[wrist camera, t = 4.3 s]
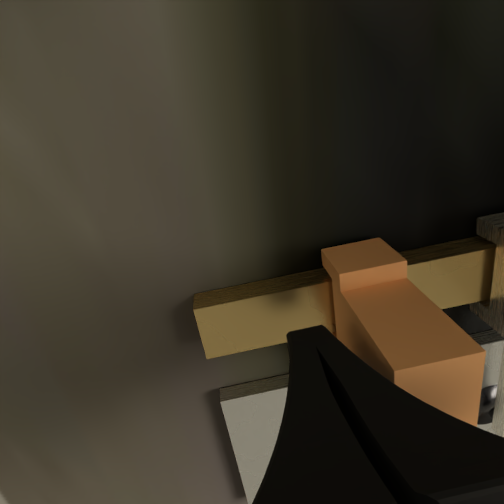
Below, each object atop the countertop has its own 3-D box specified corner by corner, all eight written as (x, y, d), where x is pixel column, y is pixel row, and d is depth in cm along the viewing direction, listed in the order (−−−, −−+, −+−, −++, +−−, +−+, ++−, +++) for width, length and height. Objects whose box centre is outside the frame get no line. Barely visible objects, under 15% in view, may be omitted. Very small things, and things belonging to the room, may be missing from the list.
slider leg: (379, 237, 15) (488, 328, 9) (384, 427, 19) (459, 567, 13) (320, 249, 15) (394, 349, 9) (339, 437, 19) (396, 583, 13)
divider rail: (534, 202, 15) (745, 273, 9) (504, 395, 20) (633, 526, 14) (188, 272, 15) (176, 396, 9) (237, 454, 19) (252, 618, 13)
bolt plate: (515, 324, 18) (529, 336, 17) (497, 438, 21) (508, 452, 20) (219, 388, 17) (220, 403, 16) (248, 495, 20) (250, 511, 20)
